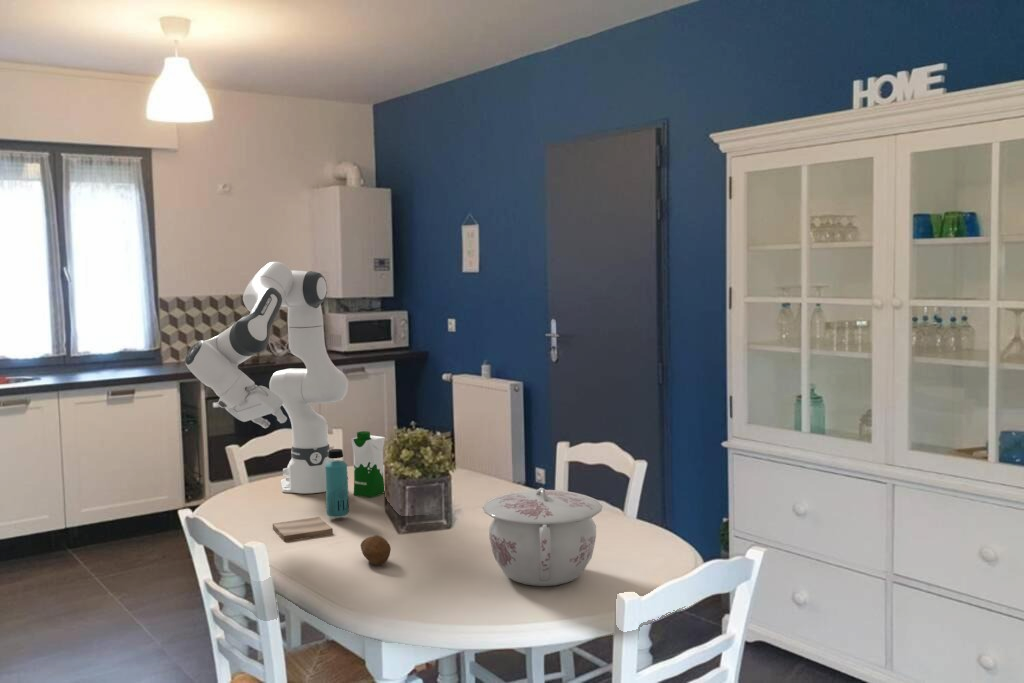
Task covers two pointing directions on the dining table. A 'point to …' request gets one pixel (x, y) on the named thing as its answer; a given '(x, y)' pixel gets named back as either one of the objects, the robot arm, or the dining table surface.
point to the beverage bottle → (336, 485)
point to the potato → (376, 549)
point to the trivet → (302, 529)
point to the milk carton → (368, 464)
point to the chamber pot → (542, 534)
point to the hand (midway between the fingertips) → (276, 423)
